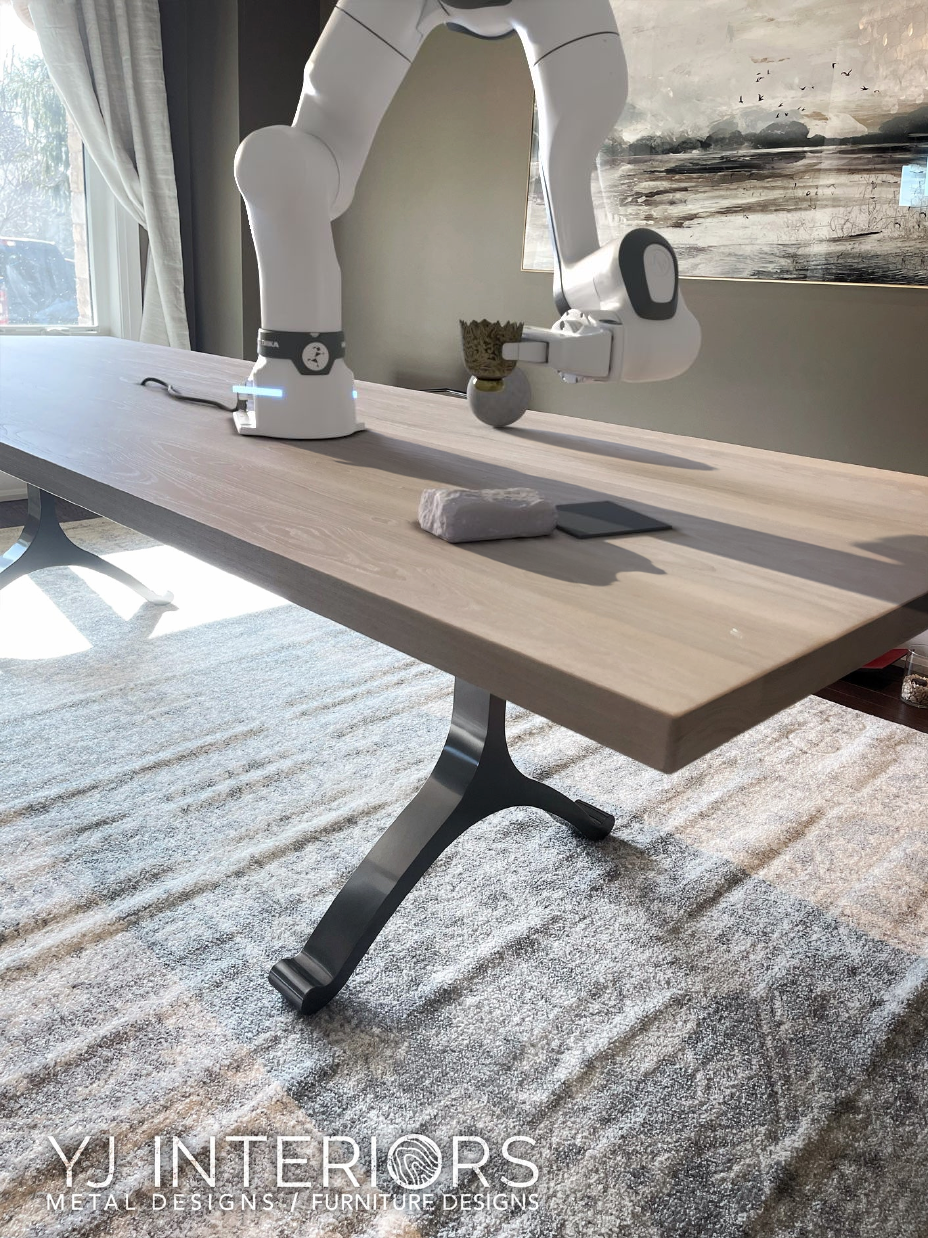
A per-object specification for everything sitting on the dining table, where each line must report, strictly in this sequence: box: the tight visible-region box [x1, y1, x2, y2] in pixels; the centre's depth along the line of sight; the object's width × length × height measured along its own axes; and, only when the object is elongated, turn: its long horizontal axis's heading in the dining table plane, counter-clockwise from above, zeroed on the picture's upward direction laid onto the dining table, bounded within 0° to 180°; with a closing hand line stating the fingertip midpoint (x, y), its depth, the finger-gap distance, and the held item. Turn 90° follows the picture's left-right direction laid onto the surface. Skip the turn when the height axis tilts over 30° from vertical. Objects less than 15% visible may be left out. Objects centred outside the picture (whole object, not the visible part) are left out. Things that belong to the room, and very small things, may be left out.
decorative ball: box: [466, 365, 532, 428], centre depth 148 cm, size 10×10×10 cm
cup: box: [459, 318, 525, 392], centre depth 111 cm, size 8×7×8 cm
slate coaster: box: [554, 500, 673, 539], centre depth 97 cm, size 11×11×1 cm
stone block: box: [417, 486, 558, 544], centre depth 91 cm, size 12×5×10 cm
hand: (484, 347), depth 110 cm, fingers closed on cup, 7 cm apart
